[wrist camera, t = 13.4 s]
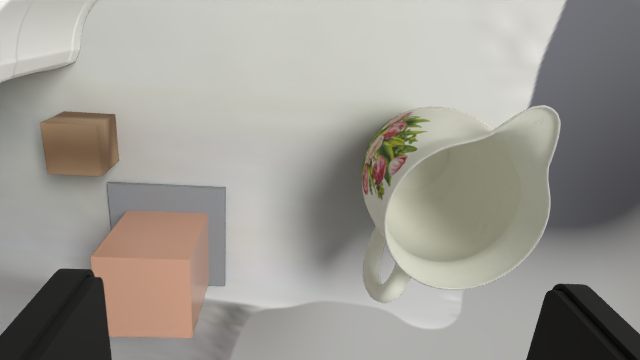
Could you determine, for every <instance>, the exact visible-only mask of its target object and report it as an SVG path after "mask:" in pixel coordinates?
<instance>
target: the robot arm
mask: <svg viewBox="0 0 640 360" xmlns="http://www.w3.org/2000/svg"><path fill="white" fill-rule="evenodd" d="M0 360H112V359H111V349H110V340H109V330H108V321H107V311H106V302H105V292H104V284H103V280H102V278H101V277H95V275H94V273H93V271H92V270H90V269H59V270H58V271H57V272H56V273H55V274H54V275H53V276H52V277H51V278H50V279H49V281H48V282H47V283H46V284H45V285H44V286H43V287H42V289H41V290H40V291H39V292H38V293H37V294H36V295H35V297H34V298H33V299H32V300H31V301H30V302H29V303H28V305H27V306H26V307H25V308H24V309H23V310H22V311H21V313H20V314H19V315H18V316H17V317H16V318H15V319H14V321H13V322H12V323H11V324H10V325H9V326H8V327H7V329H6V330H5V331H4V332H3V333H2V334H1V335H0ZM526 360H640V334H639V333H638V332H637V331H636V330H634V329H633V328H632V327H631V326H630V325H629V324H628V323H627V322H626V321H625V320H624V319H623V318H622V317H621V316H619V314H618V313H616V312H615V311H614V310H613V309H612V308H611V307H610V306H609V305H608V304H607V303H606V302H605V301H604V300H603V299H602V298H601V297H599V296H598V295H597V294H596V293H595V292H594V291H593V290H592V289H591V288H590V287H588V286H586V285H581V284H557V285H555V286H554V288H553V289H552V290H551V291H548V292H547V293H546V295H545V298H544V301H543V305H542V308H541V312H540V315H539V318H538V322H537V325H536V329H535V332H534V335H533V339H532V342H531V346H530V349H529V353H528V356H527V359H526Z"/></svg>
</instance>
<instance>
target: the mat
mask: <svg viewBox="0 0 640 360" xmlns="http://www.w3.org/2000/svg"><path fill="white" fill-rule="evenodd" d="M107 189H108V199H109V210H110V221H111V230H112V229H113V228H114V227H115V225H116V224H117V223H118V222H119V220H120V219H121V218H122V217H123V215H124V214H125V213H126V211H154V212H181V213H208V242H209V283H208V286H225V213H226V187H208V186H186V185H164V184H143V183H121V182H108V183H107Z"/></svg>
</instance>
